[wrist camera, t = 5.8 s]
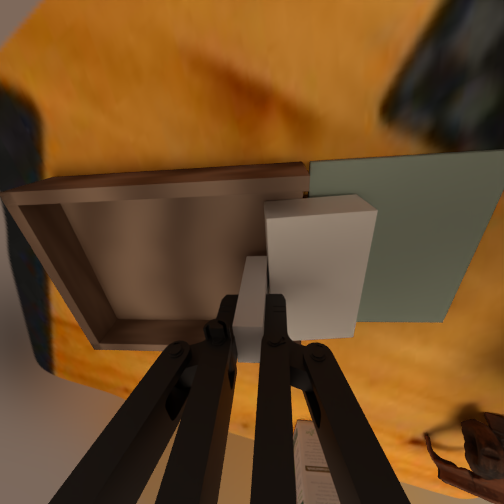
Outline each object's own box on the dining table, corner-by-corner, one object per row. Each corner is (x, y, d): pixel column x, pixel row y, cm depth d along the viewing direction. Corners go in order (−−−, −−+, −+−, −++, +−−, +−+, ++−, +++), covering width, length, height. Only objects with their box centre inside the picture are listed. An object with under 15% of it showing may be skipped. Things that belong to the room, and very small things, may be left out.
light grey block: (356, 194, 15) (377, 210, 13) (340, 308, 20) (353, 337, 18) (263, 201, 16) (266, 218, 13) (270, 313, 21) (273, 341, 18)
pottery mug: (518, 432, 30) (535, 520, 26) (426, 407, 36) (429, 476, 32) (535, 415, 23) (563, 532, 19) (418, 387, 29) (419, 472, 25)
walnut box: (301, 161, 15) (310, 175, 12) (297, 317, 22) (301, 354, 19) (52, 177, 17) (-3, 193, 14) (119, 316, 24) (94, 349, 21)
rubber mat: (514, 148, 14) (522, 149, 14) (439, 318, 21) (442, 322, 21) (309, 161, 15) (310, 162, 15) (302, 317, 22) (303, 321, 22)
